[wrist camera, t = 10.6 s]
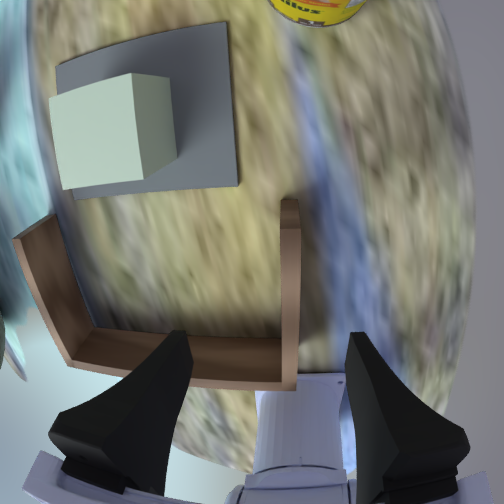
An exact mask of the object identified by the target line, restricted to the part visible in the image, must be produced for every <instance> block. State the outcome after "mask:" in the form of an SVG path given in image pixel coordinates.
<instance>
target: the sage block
mask: <svg viewBox="0 0 504 504" xmlns="http://www.w3.org/2000/svg"><path fill="white" fill-rule="evenodd" d="M49 107H50V116H51V124H52V132H53V139H54V145H55V152H56V158H57V163H58V169H59V174H60V179H61V184H62V188H63V190H66V189H73V188H79V187H86V186H93V185H101V184H109V183H117V182H125V181H134V180H143V179H145V178H147V177H148V176H150V175H151V174H153V173H155V172H156V171H158V170H159V169H161V168H163V167H164V166H166V165H168V164H169V163H171V162H173V161H174V160H176V159H178V158H177V150H176V141H175V131H174V122H173V112H172V101H171V89H170V78H167V77H160V76H153V75H145V74H136V73H129V74H125V75H121V76H117V77H113V78H110V79H106V80H103V81H99V82H96V83H93V84H89V85H86V86H83V87H80V88H77V89H74V90H71V91H68V92H65V93H62V94H60V95H57V96H54V97H51V98H49Z"/></svg>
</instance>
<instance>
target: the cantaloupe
mask: <svg viewBox="0 0 504 504" xmlns="http://www.w3.org/2000/svg"><path fill="white" fill-rule="evenodd" d="M4 350H5V326H4V321H3V317H2V314H1V312H0V369H1V366H2V361H3V356H4Z"/></svg>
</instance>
